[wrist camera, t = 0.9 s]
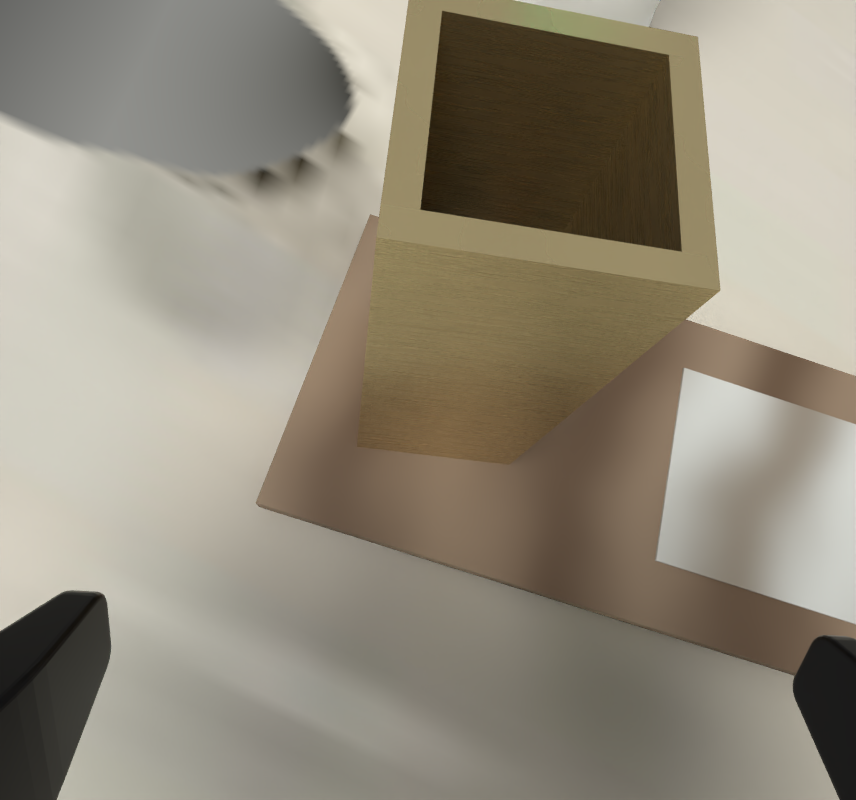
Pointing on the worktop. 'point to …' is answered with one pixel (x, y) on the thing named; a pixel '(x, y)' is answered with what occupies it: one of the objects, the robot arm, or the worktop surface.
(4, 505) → the worktop surface
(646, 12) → the water bottle
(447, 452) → the sleeve
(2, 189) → the worktop surface
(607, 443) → the shaft board
